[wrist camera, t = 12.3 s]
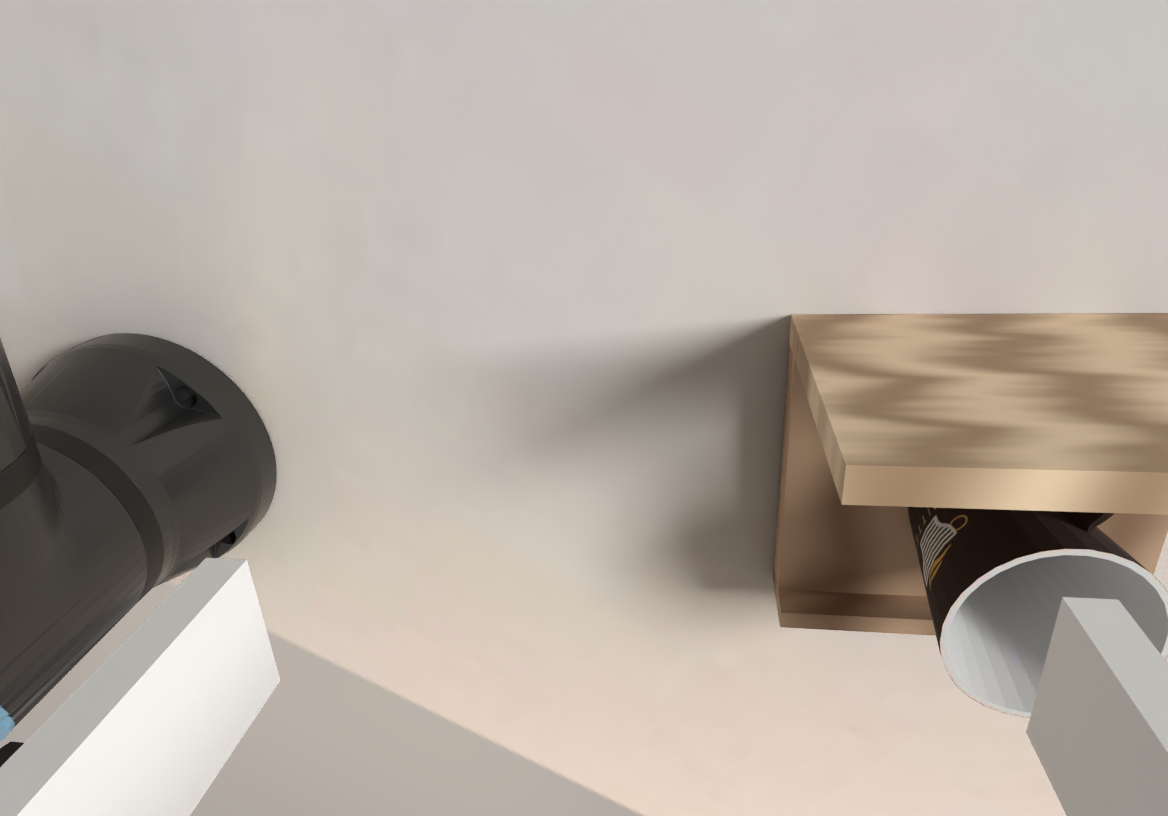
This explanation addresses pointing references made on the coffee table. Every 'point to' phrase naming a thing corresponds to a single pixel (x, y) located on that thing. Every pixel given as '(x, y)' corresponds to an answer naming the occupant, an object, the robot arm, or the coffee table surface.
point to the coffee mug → (1020, 592)
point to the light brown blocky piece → (957, 445)
